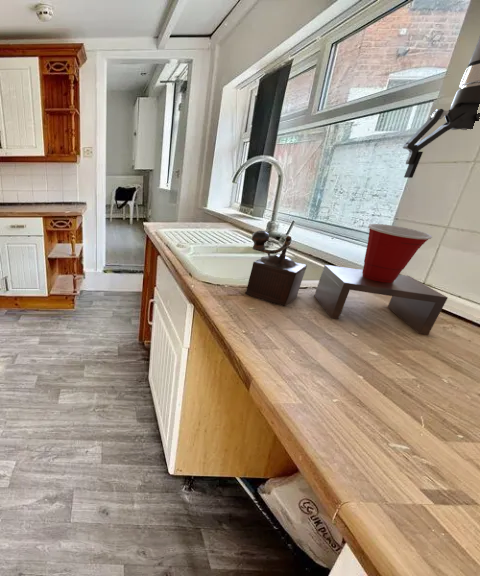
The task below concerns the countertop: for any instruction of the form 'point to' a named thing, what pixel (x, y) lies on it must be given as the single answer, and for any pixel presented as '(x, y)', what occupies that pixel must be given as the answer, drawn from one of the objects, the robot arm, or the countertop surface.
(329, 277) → the shelf
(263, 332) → the countertop surface
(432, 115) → the robot arm
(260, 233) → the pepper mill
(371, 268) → the plastic cup
